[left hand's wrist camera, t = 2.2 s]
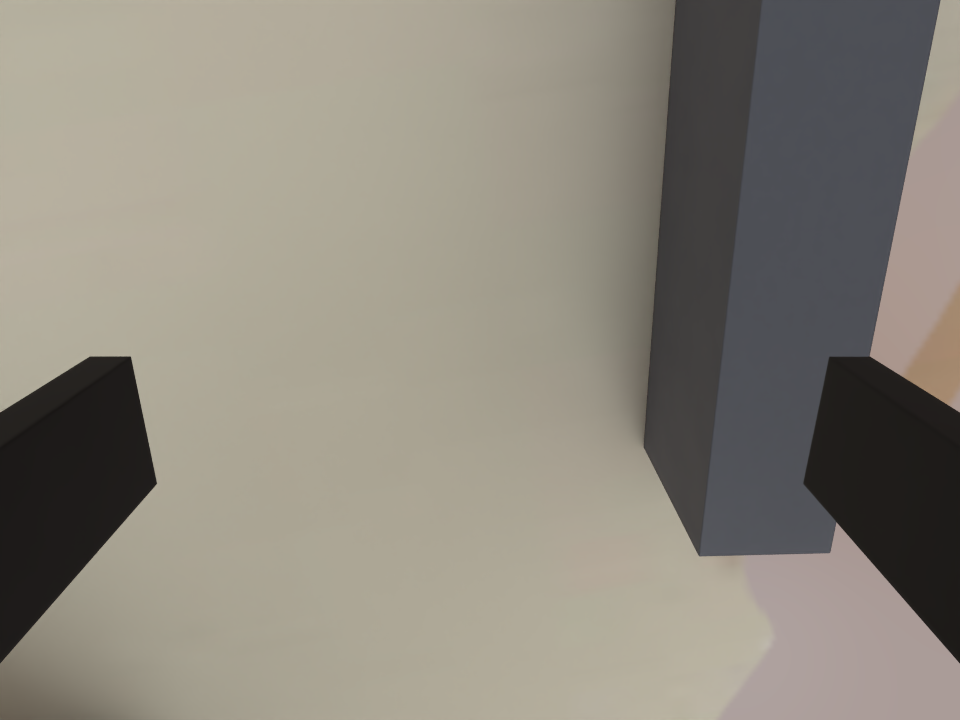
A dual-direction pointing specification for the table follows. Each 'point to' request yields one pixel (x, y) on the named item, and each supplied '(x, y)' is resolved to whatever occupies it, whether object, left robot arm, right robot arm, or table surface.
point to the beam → (772, 247)
